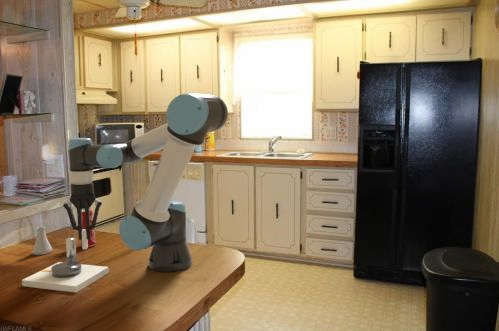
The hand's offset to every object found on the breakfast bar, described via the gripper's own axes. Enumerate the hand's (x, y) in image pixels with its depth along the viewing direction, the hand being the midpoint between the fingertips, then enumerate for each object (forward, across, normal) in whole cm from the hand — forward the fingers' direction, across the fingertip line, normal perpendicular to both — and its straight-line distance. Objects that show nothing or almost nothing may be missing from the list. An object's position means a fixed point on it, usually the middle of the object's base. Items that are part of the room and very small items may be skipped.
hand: (85, 248), depth 154 cm
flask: (+7, +19, -21) cm, 29 cm away
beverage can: (+7, +2, -25) cm, 26 cm away
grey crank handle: (+4, +5, +7) cm, 10 cm away
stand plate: (+7, +4, +11) cm, 14 cm away
